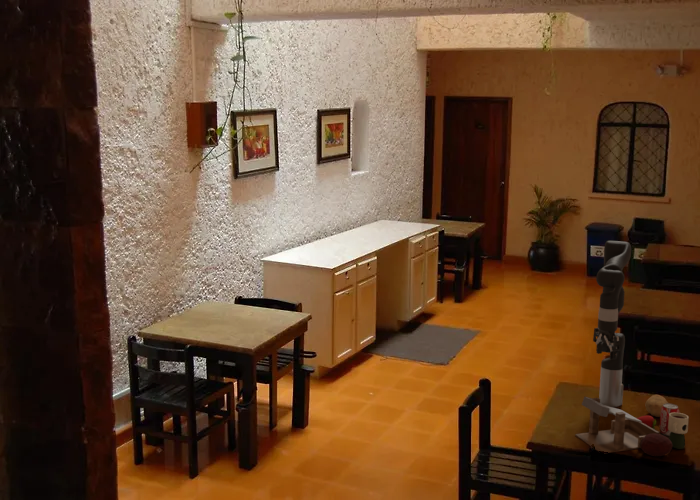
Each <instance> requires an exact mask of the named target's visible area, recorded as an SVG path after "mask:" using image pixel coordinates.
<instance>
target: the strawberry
mask: <svg viewBox="0 0 700 500" xmlns="http://www.w3.org/2000/svg"><path fill="white" fill-rule="evenodd" d="M636 418H637V419H639V420H640V421H642V423H644V424H645V425H647V426H649V427H651V428H653V429H654V430H656V429H655V428H656V427H655V426H657V427H658V428H659V429H660V425H659V426H658V425H657V420H656V418H654V416H653V415H641V416H638V417H636Z"/></svg>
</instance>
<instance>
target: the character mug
mask: <svg viewBox="0 0 700 500" xmlns="http://www.w3.org/2000/svg"><path fill="white" fill-rule="evenodd" d="M689 419H690V418H689V415H687V414H685V413H681V412H679V413H675V412H674V413H670V414H669V422H668V430H669V431H671V433H670V436H668V438H669V440H670V441H671V442H672V445H673V447H672V448H674V449H678V450H683V449H685V447H686V437H685V436H686V435H685V434H687V433H688V430H689Z"/></svg>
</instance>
